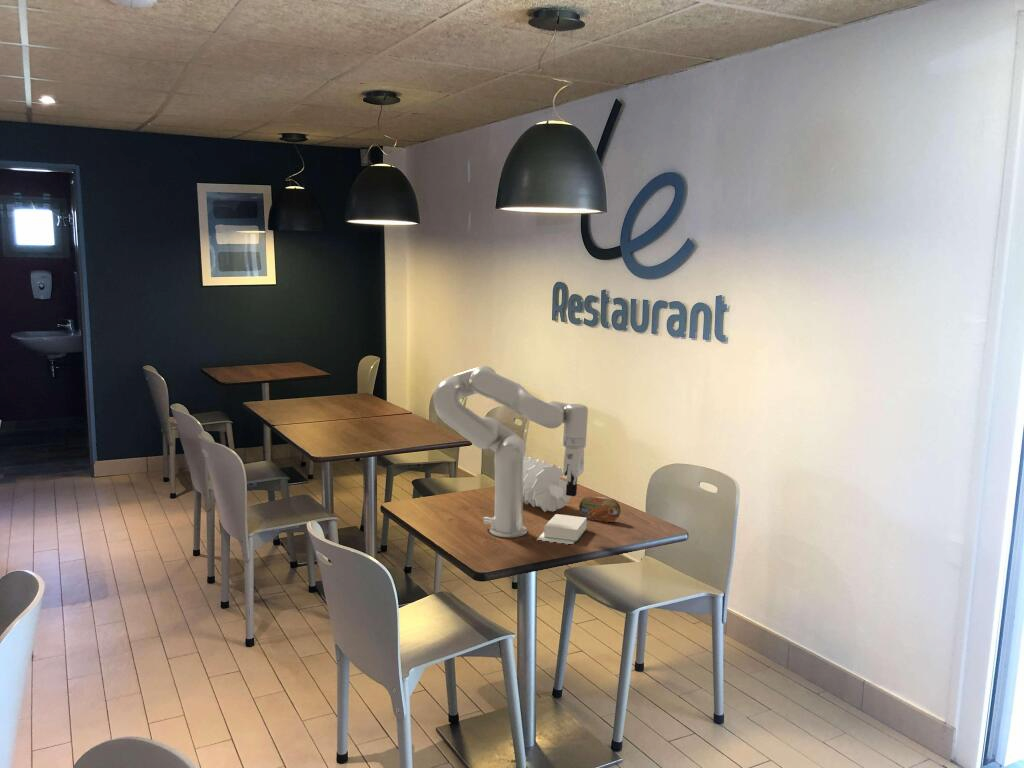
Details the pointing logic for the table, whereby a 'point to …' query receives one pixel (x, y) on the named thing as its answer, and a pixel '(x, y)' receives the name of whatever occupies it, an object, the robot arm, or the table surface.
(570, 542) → the mat
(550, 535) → the tile
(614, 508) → the tin
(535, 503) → the spiral staircase
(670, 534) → the table surface
